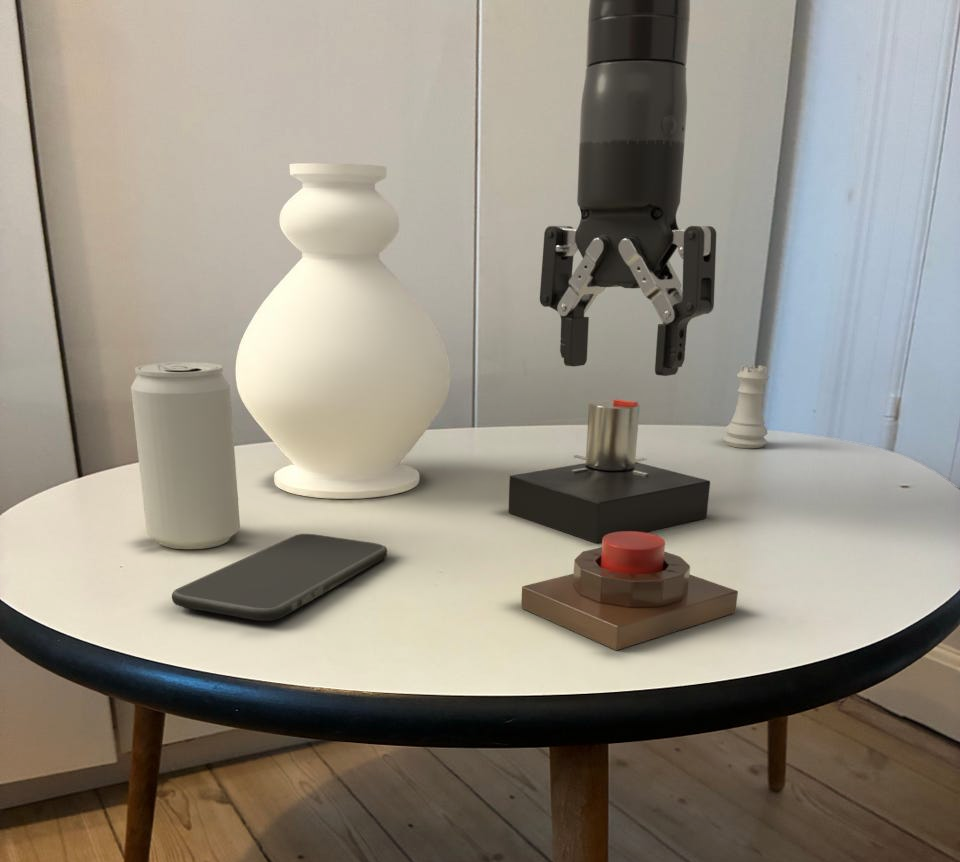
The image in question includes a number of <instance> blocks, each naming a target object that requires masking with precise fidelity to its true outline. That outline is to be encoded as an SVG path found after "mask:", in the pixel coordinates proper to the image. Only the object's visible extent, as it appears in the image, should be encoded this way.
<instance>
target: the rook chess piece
mask: <svg viewBox="0 0 960 862" xmlns="http://www.w3.org/2000/svg"><path fill="white" fill-rule="evenodd" d="M767 370H768V367H767V366H765V365H757V367H756V364H750V365H749V366H748V365H746V364H743V365H741V367H740V371H739V372H738V373H737V374H736V378H737V379H738V381H739V388H738V389H737V392H738V397H737V402H736V407H735V411H734V414H733V417H732V418H730V422H729V424H727V426H726V427H725V433H727V435H726V436H725V437H724V438H723V440H724V441H725V443H726V445H727V446H728V447H733V448H737V449H738V448H740V449H761V448H763V447H764V446H765V445H766V444H767V443H768V440H767V439H766V438H765V437H766V436H767V435H768V433H769V432H768V429H767V427H766V426H765V421H764V418H763V397H764V394H766V391H765V389H764V385H765V384H766V382H767V381H768V380H769V379H770V376H769V374H768V372H767Z"/></svg>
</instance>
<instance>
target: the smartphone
mask: <svg viewBox="0 0 960 862" xmlns="http://www.w3.org/2000/svg"><path fill="white" fill-rule="evenodd" d="M387 554H388V549H387V547H386V545H383V544H382V543H378V542H377V543H376V542H370V541H364V540H363V541H362V540H357V539H349V538H342V537H336V536H335V537H334V536H328V535H321V534H314V533H299V534H295V535H292V536H290V537H288V538H286V539H283V540H281V541H278V542H276V543H275V544H273V545H270V546H269V547H266V548H264V549H261V550H259V551H257V552H254V553H252V554H251V555H248V556H246V557H243V558H241V559H239V560H238V561H235V562H233V563H230V564H229V565H226V566H224V567H222V568H220V569H217V570H215V571H213V572H210V573H209V574H207V575H204V576H202V577H200V578H197V579H196V580H194V581H191V582H189V583H186V584H184V585H182V586H180V587H178V588H176V589H174V590H173V592H172V593H171V600H172V602H173V604H175V605H176V606H178V607H182V608H184V609H187V610H198V611H201V612H202V611H203V612H209V613H214V614H220V615H225V616H230V617H236V618H242V619H247V620H252V621H253V620H254V621H261V622H263V621H264V622H266V621H268V622H269V621H275V620H279V619H282V618H283V617H285V616H287V615H288V614H290V613H292V612H294V611H295V610H297V609H300V607H302V606H304V605H306V604H308V603H309V602H311V601H313V600H314V599H316V598H318V597H320V596H321V595H323V594H325V593H327V592H329V591H330V590H332V589H334V588H335V587H337V586H339V585H341V584H343V583H344V582H346V581H348V580H349V579H351V578H353V577H355V576H357V575H358V574H360V573H362V572H363V571H365V570H367V569H369V568H370V567H372V566H374V565H376V564H377V563H379V562H380V561H382V560H384V559H386V557H387Z"/></svg>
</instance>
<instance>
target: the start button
mask: <svg viewBox="0 0 960 862" xmlns="http://www.w3.org/2000/svg"><path fill="white" fill-rule="evenodd" d="M601 547H602V554H601V567H602V568H605V569H607V570H610V571H613V572H619V573H626V574H653V573H657V572H660V571H662V570H663V562H664V551H665V549H666V540H665V539H664V538H662V537H661V536H659V535H656V534H653V533H650V532H649V533H648V532H635V531H621V532H614V533H610V534H607V535H605V536H604V537H603V539H602V542H601ZM665 552H666V551H665Z"/></svg>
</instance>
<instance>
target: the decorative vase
mask: <svg viewBox="0 0 960 862" xmlns="http://www.w3.org/2000/svg"><path fill="white" fill-rule="evenodd" d="M289 175H290V177H292V178H294V179H296V180H298V181H300V182H301V187H302V188H300V189H299V190H298V191H297V192H296V193H295V194H293V196H291V197H290V198H289V199H288V200H287V201H286V202H285V204H284V205H283V207H282V208H281V210H280V213H279V220H278V221H279V222H278V223H279V227H280V230H281V232H282V233H283V234H284V236H285V237H286V238H287V240H288V241H289V242H290V243H291V244H292V245H293V246H294V247H295V248H296V249H297V250H298V251H300V252H301V258H300V259H299V260H298V262H297V263H296V264H294V266H293V267H292V268H291V269H290V271H288V272H287V274H286V275H285V276H284V277H283V278H282V279H281V280H280V281H279V282H278V283H277V285H276V286H275V287H274V288H273V290H271V292H270V293H269V294H268V296H267V297H266V298H265V299H264V301H263V302H262V303H261V305H260V306H259V308H258V309H257V311H256V312H255V313H254V315H253V317H252V319H251V320H250V322H249V323H248V326H247V327H246V329H245V331H244V334H243V336H242V338H241V340H240V343H239V347H238V348H237V353H236V358H235V382H236V383H235V384H236V388H237V391H238V395H239V397H240V399H241V401H242V403H243V405H244V406H245V408H246V409H247V411H248V412H249V414H250V415H251V416H252V418H253V419H254V420H255V422H256V423H257V424H258V425H259V427H260V428H261V429H262V430H263V431H264V433H265V434H266V435H267V436H268V437H269V438H270V439H271V441H272V442H273V443H274V444H275V445H276V446H277V447H278V448H279V450H280V451H281V452H282V453H283V454H284V455H285V456H286V458H287V459H289V461H290V462H291V463H292V464H289V465H287V466H283V467H282V468H280V469H278V470H277V471H276V472H275V473H274V475H273V480H274V485H275V486H276V487H277V488H278V489H280V490H282V491H283V492H287V493H290V494H294V495H297V496H302V497H309V498H317V499H331V500H332V499H333V500H334V499H335V500H355V499H372V498H380V497H387V496H392V495H398V494H402V493H405V492H407V491H410V490H412V489H414V488H416V487H417V486H418V485H419V483H420V472H419V471H418V470H417V469H416V468H414V467H412V466H410V465H408V464H404V463H401V462H402V461H403V460H404V459H405V457H406V456H407V455H408V454H409V453H410V452H411V450H412V449H413V447H414V446H416V444H417V443H418V441H419V440H420V439H421V438H422V437H423V435H424V434H425V432H426V431H427V430H428V428H430V426H431V425H432V424H433V422H434V420H435V419H436V418H437V416H438V414H439V413H440V412H441V411H442V408H443V407H444V405H445V403H446V401H447V399H448V395H449V392H450V387H451V365H450V359H449V355H448V351H447V348H446V345H445V343H444V341H443V339H442V337H441V335H440V333H439V331H438V329H437V328H436V326H435V324H434V322H433V321H432V319H431V318H430V316H429V315H428V313H427V312H426V310H425V309H424V308H423V306H422V305H421V304H420V302H419V301H418V299H416V298H415V296H414V295H413V294H412V293H411V292H410V290H408V288H407V287H406V286H405V285H404V284H403V282H401V281H400V279H398V277H397V276H396V275H395V273H393V272H392V271H391V269H390V268H388V266H386V264H385V263H383V262H382V260H381V259H380V254H381V253H382V252H384V250H385V249H386V248H388V246H389V245H391V243H392V242H393V241H394V239H395V238H396V236H397V235H398V233H399V231H400V218H399V215H398V212H397V211H396V209H395V207H394V206H393V205H392V204H391V202H389V200H388V199H386V198H385V197H384V196H383V195H382V194H381V193H380V192H378V191H377V190H376V184H377V183H380V182H381V181H383V180H385V179H387V166H384V165H375V164H373V165H372V164H358V163H357V164H355V163H331V162H330V163H328V162H327V163H326V162H324V163H323V162H321V163H320V162H319V163H318V162H308V163H307V162H306V163H305V162H304V163H303V162H301V163H289Z"/></svg>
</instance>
